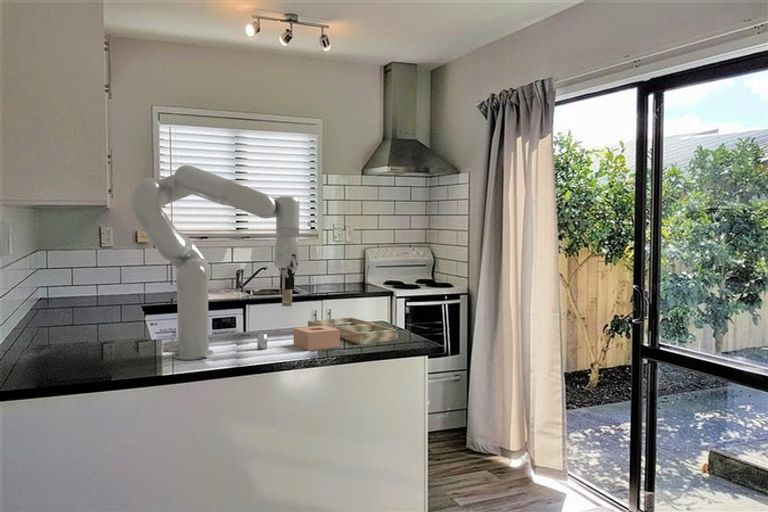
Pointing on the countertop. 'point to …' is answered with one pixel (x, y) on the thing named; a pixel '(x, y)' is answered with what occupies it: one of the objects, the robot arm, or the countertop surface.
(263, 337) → the short pin
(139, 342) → the countertop surface
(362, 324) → the organiser frame
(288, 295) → the long pin
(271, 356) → the countertop surface
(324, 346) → the hole block
